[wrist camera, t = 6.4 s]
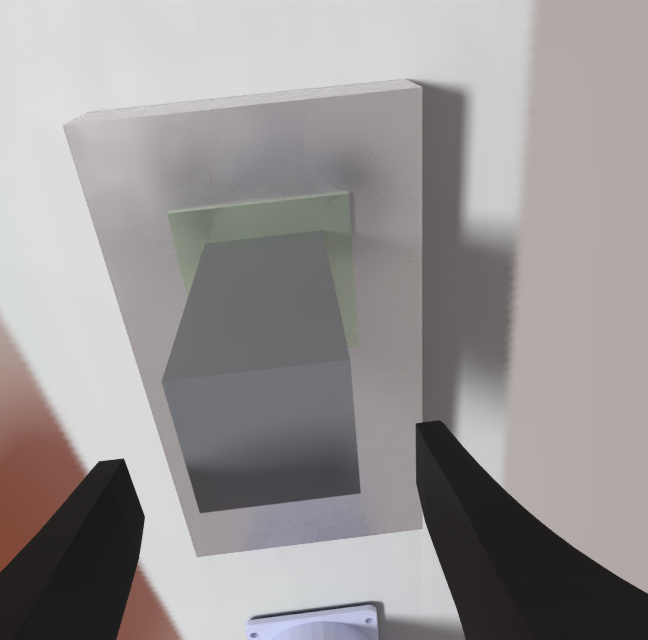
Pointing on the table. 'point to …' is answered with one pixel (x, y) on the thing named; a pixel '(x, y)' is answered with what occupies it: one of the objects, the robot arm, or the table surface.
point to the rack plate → (270, 220)
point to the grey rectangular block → (263, 377)
